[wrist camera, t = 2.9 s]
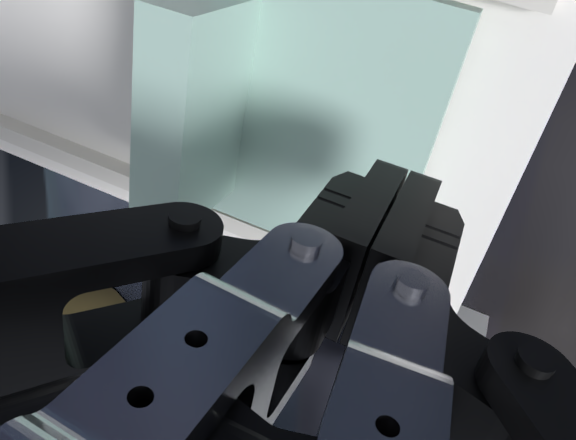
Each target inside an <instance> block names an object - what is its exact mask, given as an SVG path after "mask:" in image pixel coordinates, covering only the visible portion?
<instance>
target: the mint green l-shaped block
mask: <svg viewBox="0 0 576 440" xmlns="http://www.w3.org/2000/svg"><path fill="white" fill-rule="evenodd" d="M482 11H483V8H479V7H475V6H471V5H468V4H464V3H460V2H456V1H452V0H134V28H133V66H132V104H131V143H130V181H129V208H132V207H139V206H147V205H154V204H162V203H169V202H190V203H195V204H199V205H202V206H205V207H207V208H209V209H212V208H213V209H216V210H218V211H221V212H223V213H226V214H228V215H231V216H233V217H236V218H238V219H241V220H243V221H246V222H248V223H251V224H253V225H256V226H258V227H261V228H263V229H266V230H268V231H271V230H272V229H273V228H275V227H276V226H278V225H281V224H284V223H292V222H297V221H298V220H299V219H300V217H301V216H302V215H303V214H304V212H305V211H306V210H307V208H308V207H309V206H310V205H311V203H312V202H313V201H314V200H315V198H317V196H318V195H319V193H320V192H321V191H322V190H323V189H324V187H325V186H326V184H327V183H328V182H329V181H330V179H331V178H332V177H334V176H337V175H339V174H342V173H344V172H347V171H349V172H352V173H355V174H358V175H361V176H363V177H365V176H366V175H367V173H368V172H369V170H370V169H371V167H372V166H373V164H374V163H375V161H376V160H377V159H379V160H382V161H385V162H388V163H391V164H394V165H397V166H400V167H403V168H406V169H408V173H407V177H408V175H409V173H410V171H411V170H412V171H415V172H418V173H421V174H424V173H425V170H426V167H427V164H428V161H429V159H430V156H431V153H432V150H433V147H434V145H435V142H436V139H437V136H438V134H439V131H440V128H441V125H442V122H443V120H444V117H445V114H446V111H447V109H448V106H449V103H450V100H451V97H452V95H453V92H454V89H455V86H456V84H457V81H458V78H459V75H460V72H461V70H462V67H463V64H464V61H465V59H466V56H467V53H468V50H469V47H470V45H471V42H472V39H473V36H474V34H475V31H476V28H477V25H478V22H479V20H480V17H481V14H482ZM407 177H406V179H407Z"/></svg>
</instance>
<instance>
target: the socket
mask: <svg viewBox="0 0 576 440" xmlns="http://www.w3.org/2000/svg"><path fill="white" fill-rule="evenodd" d="M452 1H456V2H460V3H464V4H468V5H471V6H475V7H479V8H483V11H482V14H481V17H480V20H479V22H478V25H477V28H476V31H475V34H474V36H473V39H472V42H471V45H470V47H469V50H468V53H467V56H466V59H465V61H464V64H463V67H462V70H461V72H460V75H459V78H458V81H457V84H456V86H455V89H454V92H453V95H452V97H451V100H450V103H449V106H448V109H447V111H446V114H445V117H444V120H443V122H442V125H441V128H440V131H439V134H438V136H437V139H436V142H435V145H434V147H433V150H432V153H431V156H430V159H429V161H428V164H427V167H426V170H425V173H424V175H426V176H429V177H432V178H435V179H438V180H441V181H442V183H441V186H440V188H439V191H438V194H437V196H436V199H435V202H438V203H441V204H444V205H446V206H449V207H452V208H455V209H458V211H459V213H460V215H461V217H462V219H463V222H464V224H465V225H464V229H463V233H462V237H461V241H460V245H459V248H458V253H457V257H456V261H455V265H454V269H453V273H452V277H451V281H450V285H449V292H450V295H451V302H450V305H451V306H452V308H453V310H454V311H455V313H456V314H457V312H458V310H459V308H460V306H461V304H462V302H463V300H464V298H465V295H466V293H467V291H468V289H469V287H470V285H471V283H472V281H473V279H474V276H475V274H476V272H477V270H478V268H479V266H480V264H481V262H482V259H483V257H484V255H485V253H486V251H487V249H488V247H489V245H490V242H491V240H492V238H493V236H494V234H495V232H496V230H497V228H498V226H499V223H500V221H501V219H502V217H503V215H504V213H505V211H506V209H507V206H508V204H509V202H510V200H511V198H512V196H513V194H514V192H515V190H516V187H517V185H518V183H519V181H520V179H521V177H522V175H523V173H524V170H525V168H526V166H527V164H528V162H529V160H530V158H531V156H532V153H533V151H534V149H535V147H536V145H537V143H538V141H539V139H540V137H541V134H542V132H543V130H544V128H545V126H546V124H547V122H548V120H549V117H550V115H551V113H552V111H553V109H554V107H555V105H556V103H557V100H558V98H559V96H560V94H561V92H562V90H563V88H564V86H565V84H566V81H567V79H568V77H569V75H570V73H571V71H572V69H573V67H574V64H575V62H576V0H452ZM133 28H134V0H0V149H1V150H3V151H6V152H8V153H11V154H13V155H16V156H18V157H21V158H23V159H25V160H28V161H30V162H32V163H35V164H37V165H40V166H42V167H45V168H47V169H49V170H52V171H54V172H57V173H59V174H62V175H64V176H67V177H69V178H71V179H74V180H76V181H79V182H81V183H84V184H86V185H88V186H91V187H93V188H96V189H98V190H101V191H103V192H105V193H108V194H110V195H113V196H115V197H118V198H120V199H122V200H125V201H127V202H129V181H130V143H131V104H132V66H133ZM211 210H213V211H214V212H215V213H217V214H218V215H219V217H220V218H221V219H222V221H223V224H224V230H223V235H225V236H230V237H236V238H242V239H249V240H261V239H262V238H263V237H264V236H265V235H267V234H268V233H269V232H270V231H268V230H266V229H263V228H261V227H258V226H256V225H253V224H251V223H248V222H246V221H243V220H241V219H238V218H236V217H233V216H231V215H228V214H226V213H223V212H221V211H218V210H216V209H213V208H212V209H211Z"/></svg>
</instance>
